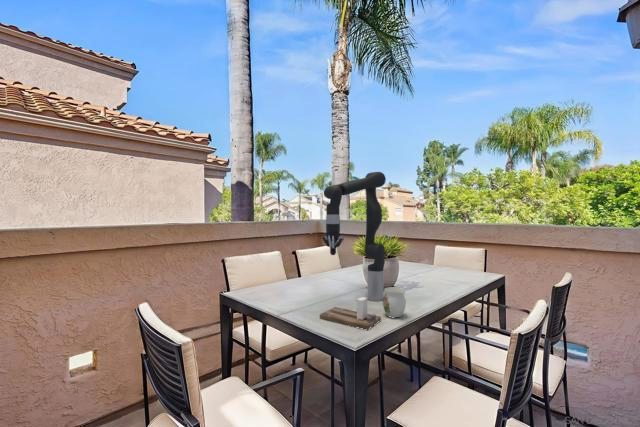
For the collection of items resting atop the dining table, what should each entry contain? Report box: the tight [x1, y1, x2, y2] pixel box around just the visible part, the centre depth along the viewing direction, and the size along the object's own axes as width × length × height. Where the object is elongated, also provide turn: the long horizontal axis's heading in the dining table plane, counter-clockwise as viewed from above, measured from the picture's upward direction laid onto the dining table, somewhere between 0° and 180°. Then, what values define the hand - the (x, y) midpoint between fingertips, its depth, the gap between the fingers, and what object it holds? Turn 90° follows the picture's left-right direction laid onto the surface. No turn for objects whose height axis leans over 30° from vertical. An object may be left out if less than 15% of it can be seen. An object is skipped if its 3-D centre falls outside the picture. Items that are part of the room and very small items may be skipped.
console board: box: [319, 306, 382, 330], centre depth 151 cm, size 14×26×4 cm, turn 55°
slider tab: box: [356, 296, 368, 320], centre depth 147 cm, size 5×3×9 cm, turn 145°
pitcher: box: [382, 286, 406, 318], centre depth 157 cm, size 11×18×14 cm, turn 15°
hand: (333, 254), depth 168 cm, fingers closed
